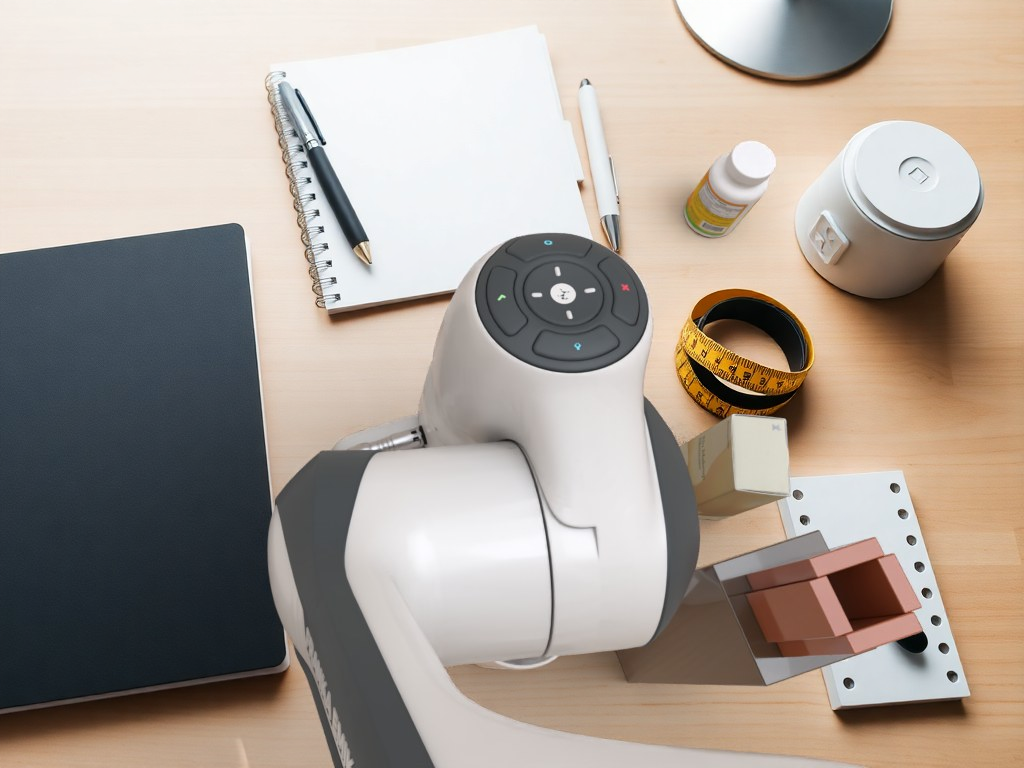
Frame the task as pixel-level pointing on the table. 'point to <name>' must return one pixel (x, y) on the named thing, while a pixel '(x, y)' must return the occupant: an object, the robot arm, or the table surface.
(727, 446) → the cosmetic box
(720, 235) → the supplement bottle
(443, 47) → the table surface
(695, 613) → the holder
